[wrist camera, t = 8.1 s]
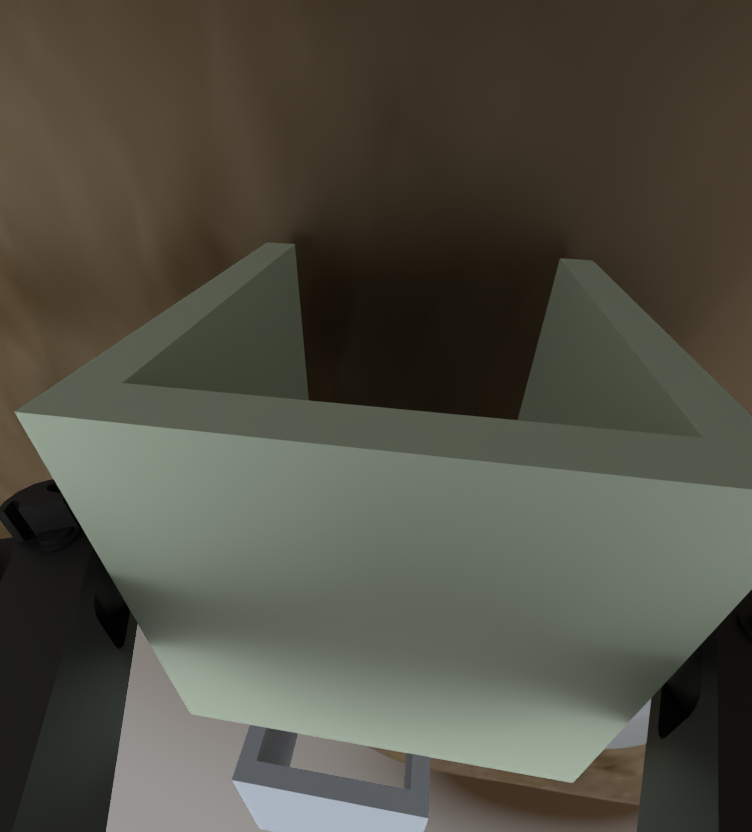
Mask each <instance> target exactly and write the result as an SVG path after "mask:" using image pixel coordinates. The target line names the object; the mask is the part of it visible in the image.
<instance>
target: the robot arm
mask: <svg viewBox="0 0 752 832" xmlns="http://www.w3.org/2000/svg"><path fill="white" fill-rule="evenodd" d="M0 520H1V522H2V523H3V524H4V526H5V527H6V528H7V530H8V531H9V532H10V534H11V535H12V536H13V538H6V539H0V832H106V826H107V820H108V813H109V807H110V800H111V793H112V787H113V780H114V774H115V767H116V761H117V754H118V748H119V741H120V735H121V728H122V721H123V715H124V708H125V702H126V694H127V688H128V682H129V676H130V668H131V662H132V656H133V649H134V642H135V636H136V630H137V621H136V619H135V618H134V616H133V614H132V613H131V611H130V609H129V607H128V606H127V604H126V602H125V601H124V599H123V597H122V595H121V594H120V592H119V590H118V589H117V587H116V585H115V583H114V582H113V580H112V578H111V577H110V575H109V573H108V571H107V570H106V568H105V566H104V565H103V563H102V561H101V559H100V558H99V556H98V554H97V553H96V551H95V549H94V548H93V546H92V544H91V542H90V541H89V539H88V537H87V536H86V534H85V532H84V530H83V529H82V527H81V525H80V524H79V522H78V520H77V518H76V517H75V515H74V513H73V512H72V510H71V508H70V506H69V505H68V503H67V501H66V500H65V498H64V496H63V494H62V493H61V491H60V489H59V488H58V486H57V484H56V482H55V481H54V480H48V481H44V482H40V483H37V484H34V485H31V486H29V487H27V488H25V489H23V490H21V491H19V492H17V493H16V494H14V495H13V496H12V497H10V498H9V499H7V500H6V501H5V502H4V503H3V504H2V505H1V506H0ZM637 832H752V590H751V591H750V592H749V593H748V594H747V595H746V596H745V597H744V598H743V599H742V601H741V602H740V603H739V604H738V605H737V606H736V607H735V608H734V609H733V610H732V611H731V612H730V613H729V615H728V616H727V617H726V618H725V619H724V620H723V621H722V622H721V623H720V624H719V625H718V626H717V628H716V629H715V630H714V631H713V632H712V633H711V634H710V635H709V636H708V637H707V638H706V639H705V641H704V642H703V643H702V644H701V645H700V646H699V647H698V648H697V649H696V650H695V651H694V652H693V653H692V655H691V656H690V657H689V658H688V659H687V660H686V661H685V662H684V663H683V664H682V665H681V666H680V668H679V669H678V670H677V671H676V672H675V673H674V674H673V675H672V676H671V677H670V678H669V679H668V681H667V682H666V683H665V684H664V685H663V686H662V687H661V688H660V689H659V690H658V691H657V692H656V693H655V695H654V696H653V697H652V698H651V706H650V715H649V724H648V733H647V742H646V752H645V761H644V770H643V779H642V788H641V797H640V806H639V816H638V826H637Z"/></svg>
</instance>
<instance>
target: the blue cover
mask: <svg viewBox="0 0 752 832" xmlns="http://www.w3.org/2000/svg"><path fill="white" fill-rule="evenodd" d="M297 734H298V733H293V732H288V731H282V730H277V729H271V728H266V727H260V726H255V725H250V727H249V730H248V733H247V736H246V739H245V742H244V745H243V748H242V751H241V754H240V757H239V760H238V763H237V766H236V769H235V772H234V775H233V779H232V781H233V783H234V785H235V786H236V788H237V790H238V792H239V793H240V795H241V797H242V799H243V800H244V802H245V804H246V805H247V807H248V809H249V811H250V813H251V814H252V816H253V818H254V820H255V821H256V823H257V825H258V827H259V828H260V829H263V830H268V831H272V832H424V829H425V827H426V824H427V821H428V811H429V777H430V757H426V756H421V755H415V754H410V753H406V762H405V777H404V789H402V788H397V787H392V786H387V785H381V784H376V783H371V782H365V781H359V780H355V779H349V778H344V777H338V776H334V775H328V774H323V773H318V772H312V771H307V770H301V769H297V768H291V767H290V763H291V759H292V754H293V750H294V747H295V743H296V739H297Z"/></svg>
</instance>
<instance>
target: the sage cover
mask: <svg viewBox="0 0 752 832" xmlns="http://www.w3.org/2000/svg"><path fill="white" fill-rule="evenodd" d="M15 414H16V416H17V417H18V419H19V421H20V422H21V424H22V426H23V428H24V429H25V431H26V433H27V434H28V436H29V438H30V440H31V441H32V443H33V445H34V446H35V448H36V450H37V452H38V453H39V455H40V457H41V458H42V460H43V462H44V464H45V465H46V467H47V469H48V470H49V472H50V474H51V476H52V477H53V479H54V481H55V482H56V484H57V486H58V488H59V489H60V491H61V493H62V494H63V496H64V498H65V500H66V501H67V503H68V505H69V506H70V508H71V510H72V512H73V513H74V515H75V517H76V518H77V520H78V522H79V524H80V525H81V527H82V529H83V530H84V532H85V534H86V536H87V537H88V539H89V541H90V542H91V544H92V546H93V548H94V549H95V551H96V553H97V554H98V556H99V558H100V559H101V561H102V563H103V565H104V566H105V568H106V570H107V571H108V573H109V575H110V577H111V578H112V580H113V582H114V583H115V585H116V587H117V589H118V590H119V592H120V594H121V595H122V597H123V599H124V601H125V602H126V604H127V606H128V607H129V609H130V611H131V613H132V614H133V616H134V618H135V619H136V621H137V623H138V625H139V626H140V628H141V630H142V631H143V633H144V635H145V637H146V638H147V640H148V642H149V643H150V645H151V647H152V649H153V650H154V652H155V654H156V655H157V657H158V659H159V660H160V662H161V664H162V665H163V667H164V669H165V671H166V672H167V674H168V676H169V678H170V679H171V681H172V683H173V685H174V686H175V688H176V689H177V691H178V693H179V695H180V696H181V698H182V700H183V702H184V703H185V705H186V707H187V709H188V710H189V712H190V714H194V715H199V716H205V717H211V718H216V719H222V720H227V721H232V722H238V723H243V724H249V725H255V726H260V727H266V728H271V729H277V730H282V731H288V732H293V733H299V734H305V735H310V736H316V737H321V738H327V739H332V740H338V741H343V742H349V743H355V744H360V745H365V746H371V747H376V748H382V749H387V750H393V751H399V752H404V753H410V754H415V755H421V756H426V757H432V758H437V759H443V760H448V761H454V762H460V763H465V764H471V765H476V766H482V767H487V768H493V769H498V770H504V771H509V772H515V773H520V774H526V775H532V776H537V777H543V778H548V779H554V780H559V781H565V782H570V783H573V782H574V781H575V780H576V779H577V778H578V777H579V776H580V775H581V773H582V772H583V771H584V770H585V769H586V768H587V767H588V766H589V765H590V764H591V763H592V762H593V760H594V759H595V758H596V757H597V756H598V755H599V754H600V753H601V752H602V751H603V750H604V749H605V748H606V746H607V745H608V744H609V743H610V742H611V741H612V740H613V739H614V738H615V737H616V736H617V735H618V733H619V732H620V731H621V730H622V729H623V728H624V727H625V726H626V725H627V724H628V723H629V722H630V720H631V719H632V718H633V717H634V716H635V715H636V714H637V713H638V712H639V711H640V710H641V709H642V708H643V706H644V705H645V704H646V703H647V702H648V701H649V700H650V699H651V698H652V697H653V696H654V695H655V693H656V692H657V691H658V690H659V689H660V688H661V687H662V686H663V685H664V684H665V683H666V682H667V681H668V679H669V678H670V677H671V676H672V675H673V674H674V673H675V672H676V671H677V670H678V669H679V668H680V666H681V665H682V664H683V663H684V662H685V661H686V660H687V659H688V658H689V657H690V656H691V655H692V653H693V652H694V651H695V650H696V649H697V648H698V647H699V646H700V645H701V644H702V643H703V642H704V641H705V639H706V638H707V637H708V636H709V635H710V634H711V633H712V632H713V631H714V630H715V629H716V628H717V626H718V625H719V624H720V623H721V622H722V621H723V620H724V619H725V618H726V617H727V616H728V615H729V613H730V612H731V611H732V610H733V609H734V608H735V607H736V606H737V605H738V604H739V603H740V602H741V601H742V599H743V598H744V597H745V596H746V595H747V594H748V593H749V592H750V591H751V590H752V416H751V415H750V414H749V413H748V412H747V411H746V410H745V409H744V408H743V407H742V406H741V405H740V404H739V403H738V402H737V401H736V400H735V399H734V398H733V397H732V396H731V395H730V394H729V393H728V392H727V391H726V390H725V389H724V388H723V387H722V386H721V385H720V384H719V383H717V382H716V381H715V380H714V379H713V378H712V377H711V376H710V375H709V374H708V373H707V372H706V371H705V370H704V369H703V368H702V367H701V366H700V365H699V364H698V363H697V362H696V361H695V360H694V359H693V358H692V357H691V356H690V355H689V354H688V353H687V352H686V351H685V350H684V349H683V348H682V347H681V346H680V345H679V344H678V343H677V342H676V341H675V340H674V339H673V338H672V337H670V336H669V335H668V334H667V333H666V332H665V331H664V330H663V329H662V328H661V327H660V326H659V325H658V324H657V323H656V322H655V321H654V320H653V319H652V318H651V317H650V316H649V315H648V314H647V313H646V312H645V311H644V310H643V309H642V308H641V307H640V306H639V305H638V304H637V303H636V302H635V301H634V300H633V299H632V298H631V297H630V296H629V295H628V294H627V293H626V292H625V291H623V290H622V289H621V288H620V287H619V286H618V285H617V284H616V283H615V282H614V281H613V280H612V279H611V278H610V277H609V276H608V275H607V274H606V273H605V272H604V271H603V270H602V269H601V268H600V267H599V266H598V265H597V264H596V263H595V262H594V261H593V260H579V259H560V260H559V264H558V268H557V272H556V275H555V279H554V283H553V287H552V291H551V295H550V298H549V302H548V306H547V310H546V314H545V317H544V321H543V325H542V329H541V333H540V337H539V340H538V344H537V348H536V352H535V356H534V359H533V363H532V367H531V371H530V375H529V379H528V382H527V386H526V390H525V394H524V398H523V401H522V405H521V409H520V413H519V417H518V420H509V419H499V418H488V417H478V416H467V415H456V414H446V413H435V412H425V411H414V410H404V409H393V408H382V407H372V406H361V405H351V404H340V403H329V402H319V401H309V397H308V386H307V375H306V363H305V352H304V341H303V330H302V319H301V307H300V296H299V285H298V274H297V263H296V251H295V244H285V243H265V244H264V245H262V246H261V247H259V248H258V249H256V250H255V251H253V252H252V253H250V254H249V255H247V256H246V257H244V258H243V259H241V260H240V261H238V262H237V263H235V264H234V265H232V266H231V267H229V268H228V269H226V270H225V271H223V272H222V273H221V274H219V275H218V276H216V277H215V278H213V279H212V280H210V281H209V282H207V283H206V284H204V285H203V286H201V287H200V288H198V289H197V290H195V291H194V292H192V293H191V294H189V295H188V296H186V297H185V298H183V299H182V300H180V301H179V302H177V303H176V304H174V305H173V306H171V307H170V308H168V309H167V310H165V311H164V312H162V313H161V314H159V315H158V316H156V317H155V318H153V319H152V320H150V321H149V322H147V323H146V324H145V325H143V326H142V327H140V328H139V329H137V330H136V331H134V332H133V333H131V334H130V335H128V336H127V337H125V338H124V339H122V340H121V341H119V342H118V343H116V344H115V345H113V346H112V347H110V348H109V349H107V350H106V351H104V352H103V353H101V354H100V355H98V356H97V357H95V358H94V359H92V360H91V361H89V362H88V363H86V364H85V365H83V366H82V367H80V368H79V369H77V370H76V371H74V372H73V373H72V374H70V375H69V376H67V377H66V378H64V379H63V380H61V381H60V382H58V383H57V384H55V385H54V386H52V387H51V388H49V389H48V390H46V391H45V392H43V393H42V394H40V395H39V396H37V397H36V398H34V399H33V400H31V401H30V402H28V403H27V404H25V405H24V406H22V407H21V408H19V409H18V410H16V411H15Z"/></svg>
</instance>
